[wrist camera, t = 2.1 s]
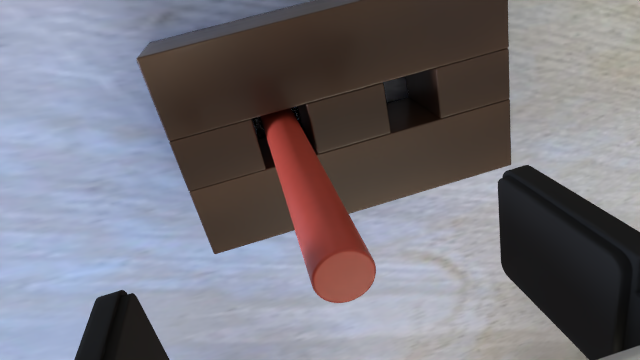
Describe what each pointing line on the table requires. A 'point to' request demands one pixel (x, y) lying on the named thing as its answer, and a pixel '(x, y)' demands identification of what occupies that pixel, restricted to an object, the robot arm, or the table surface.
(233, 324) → the table surface
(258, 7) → the table surface
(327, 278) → the straw
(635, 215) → the table surface
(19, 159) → the table surface
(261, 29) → the block with rectangular slots
